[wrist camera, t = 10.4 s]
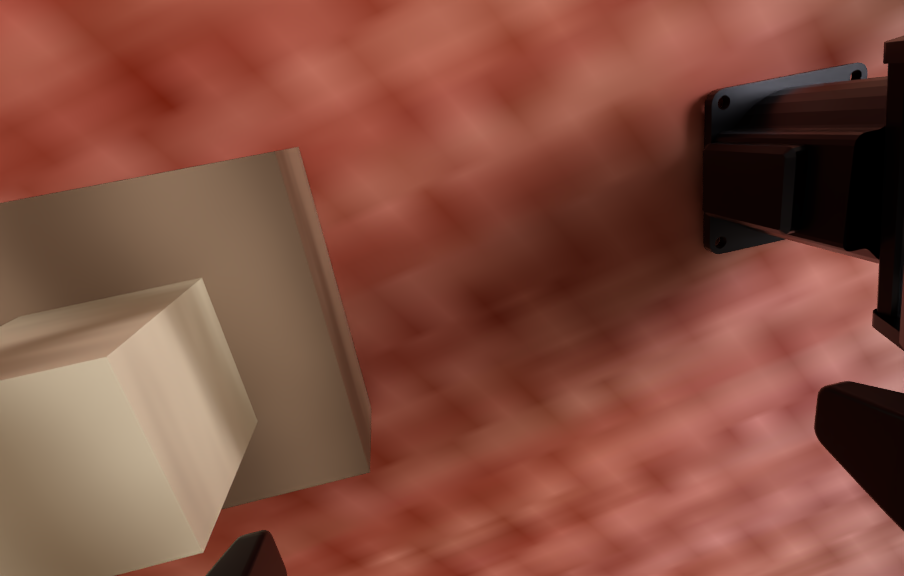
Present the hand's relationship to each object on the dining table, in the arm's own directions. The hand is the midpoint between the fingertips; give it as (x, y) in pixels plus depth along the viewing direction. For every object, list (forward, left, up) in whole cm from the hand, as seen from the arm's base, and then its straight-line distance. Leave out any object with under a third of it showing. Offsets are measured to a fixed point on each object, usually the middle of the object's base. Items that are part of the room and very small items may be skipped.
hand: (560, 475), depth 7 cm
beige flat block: (+10, 0, -12) cm, 16 cm away
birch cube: (+10, 0, -8) cm, 13 cm away
